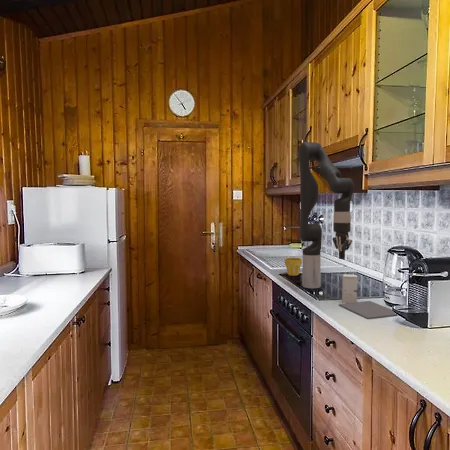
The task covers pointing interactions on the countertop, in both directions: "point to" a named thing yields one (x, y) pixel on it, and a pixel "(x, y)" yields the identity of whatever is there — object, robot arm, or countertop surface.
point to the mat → (368, 309)
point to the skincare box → (349, 288)
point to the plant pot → (293, 265)
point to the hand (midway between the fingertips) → (341, 258)
